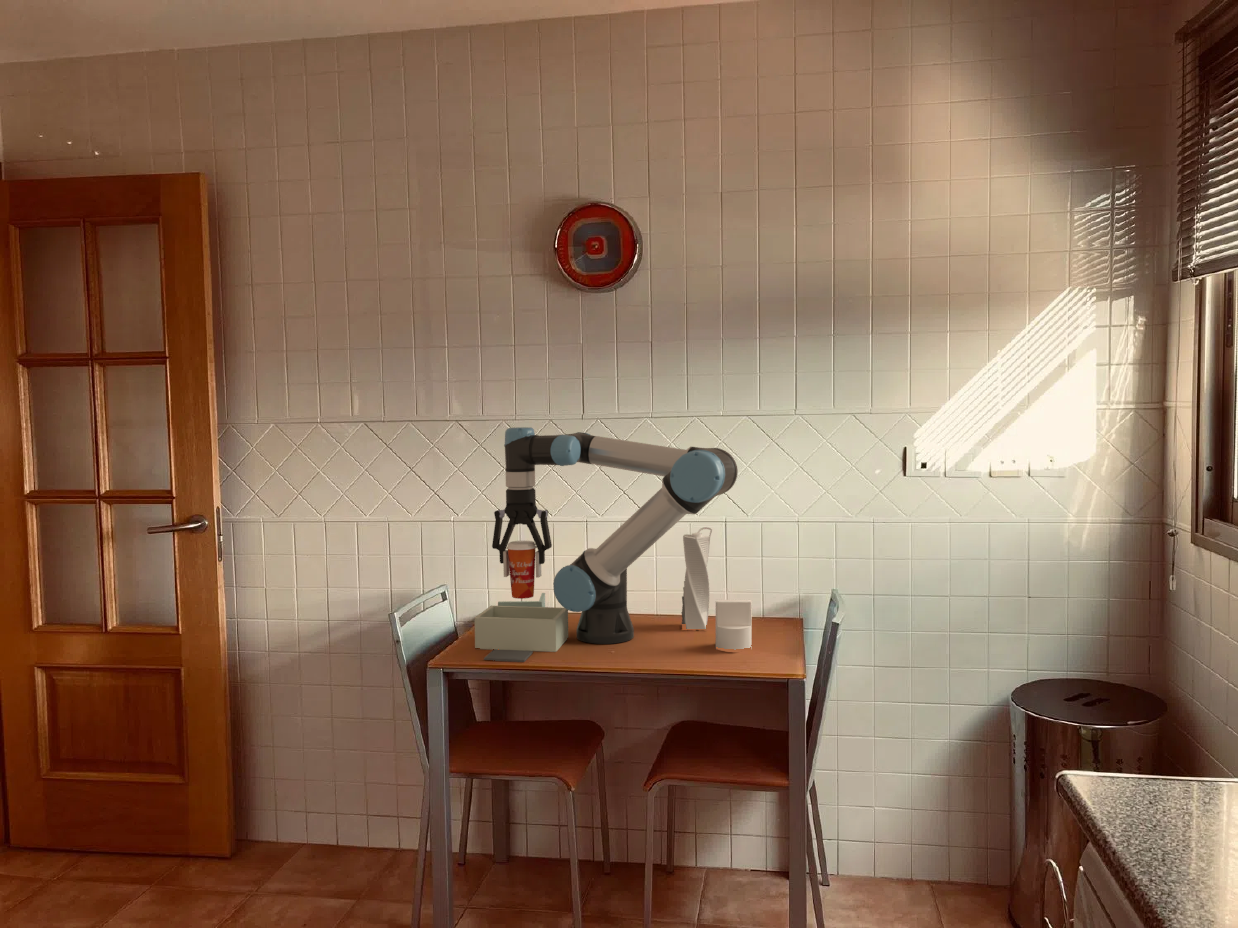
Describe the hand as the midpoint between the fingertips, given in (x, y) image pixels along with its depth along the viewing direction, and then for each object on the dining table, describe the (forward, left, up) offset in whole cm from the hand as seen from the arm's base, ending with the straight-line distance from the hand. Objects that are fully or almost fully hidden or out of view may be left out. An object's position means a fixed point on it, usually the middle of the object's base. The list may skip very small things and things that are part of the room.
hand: (522, 576), depth 248 cm
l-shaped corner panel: (+6, -20, -18) cm, 28 cm away
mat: (0, +13, -18) cm, 22 cm away
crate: (0, 0, -18) cm, 18 cm away
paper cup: (0, 0, -6) cm, 6 cm away
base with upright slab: (-54, -3, -18) cm, 57 cm away
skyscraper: (-43, -22, -18) cm, 51 cm away
